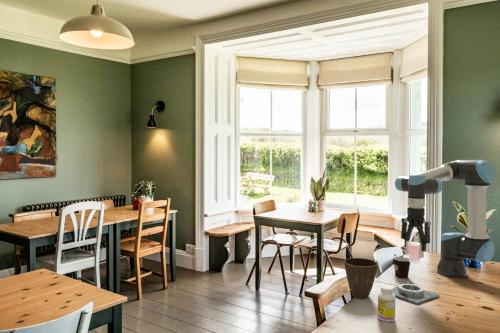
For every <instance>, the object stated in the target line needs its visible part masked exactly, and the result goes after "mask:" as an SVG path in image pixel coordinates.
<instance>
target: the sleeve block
mask: <svg viewBox="0 0 500 333" xmlns="http://www.w3.org/2000/svg"><path fill="white" fill-rule="evenodd" d="M393 294H394V295H395V297H396V298H397V299H399V300H402V301H406V302H408V303H411V304H414V305H417V306H418V305H421V304H424V303H427V302H430V301H432V300H436V299H439V298H440V294H439V293H438V294H437V293H435V292H431V291H427V290H425V289H424V288H423V287H422V286H420V285H417V284H412V283H401V284H398V286H394V287H393Z"/></svg>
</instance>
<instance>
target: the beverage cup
mask: <svg viewBox="0 0 500 333" xmlns="http://www.w3.org/2000/svg"><path fill="white" fill-rule="evenodd" d="M416 233H417V232H414V241H411V242H408V245H409V255H408V258H409V262H410V264H411V263H412V264H417V265H418V264H420V263H421V258H419V244H420V243H421V242H418V241H417V240H416V239H417V237H416V236H417V234H416Z"/></svg>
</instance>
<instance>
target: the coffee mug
mask: <svg viewBox="0 0 500 333" xmlns="http://www.w3.org/2000/svg"><path fill="white" fill-rule="evenodd" d="M392 263H393V267H394V268H393V269H394V276H395V278H397V279H399V280H400V279H401V280H407V279H408V278H409V272H410V266H411V263H410V262H409V257H404V256H403V257H402V256H394V257H393V259H392Z"/></svg>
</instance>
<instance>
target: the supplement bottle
mask: <svg viewBox="0 0 500 333" xmlns="http://www.w3.org/2000/svg"><path fill="white" fill-rule="evenodd" d="M393 288H394V287H393V286H390V285H381V286H380V292H378V294H377V318H378V319H379V320H380V321H381V320H382V321H381V322H385V321H386V323H391V321H392V322H395V319H396V297H395V295H394V294H393Z"/></svg>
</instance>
